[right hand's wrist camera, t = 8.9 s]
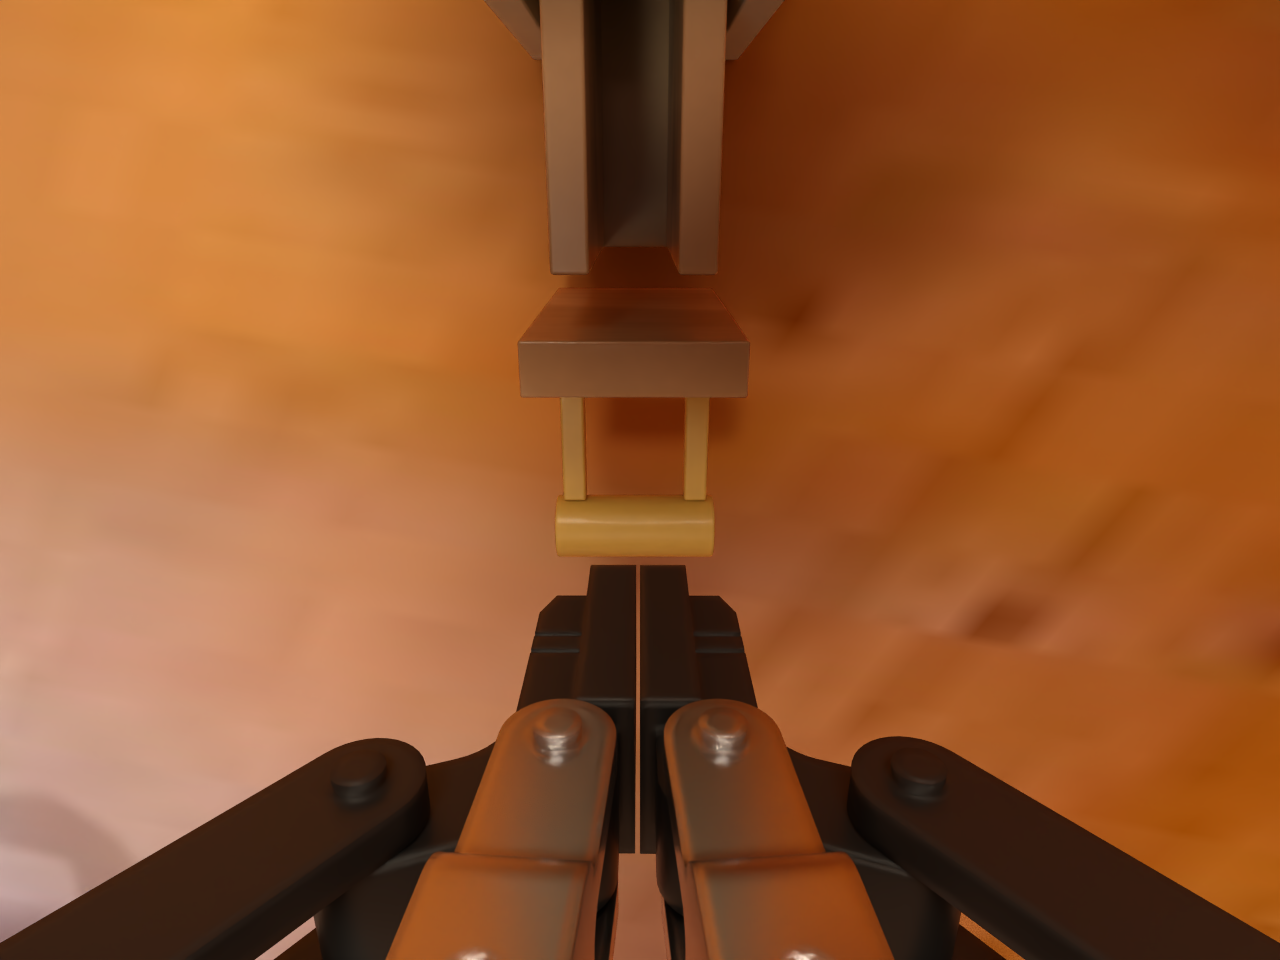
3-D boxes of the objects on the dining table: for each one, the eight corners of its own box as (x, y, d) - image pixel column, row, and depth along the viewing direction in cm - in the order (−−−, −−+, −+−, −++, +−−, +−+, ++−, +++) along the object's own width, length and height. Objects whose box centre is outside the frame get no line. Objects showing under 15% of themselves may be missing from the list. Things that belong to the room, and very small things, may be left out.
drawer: (705, 483, 27) (736, 618, 18) (565, 483, 27) (532, 618, 18) (735, -394, 19) (812, -854, 10) (533, -394, 19) (450, -854, 10)
